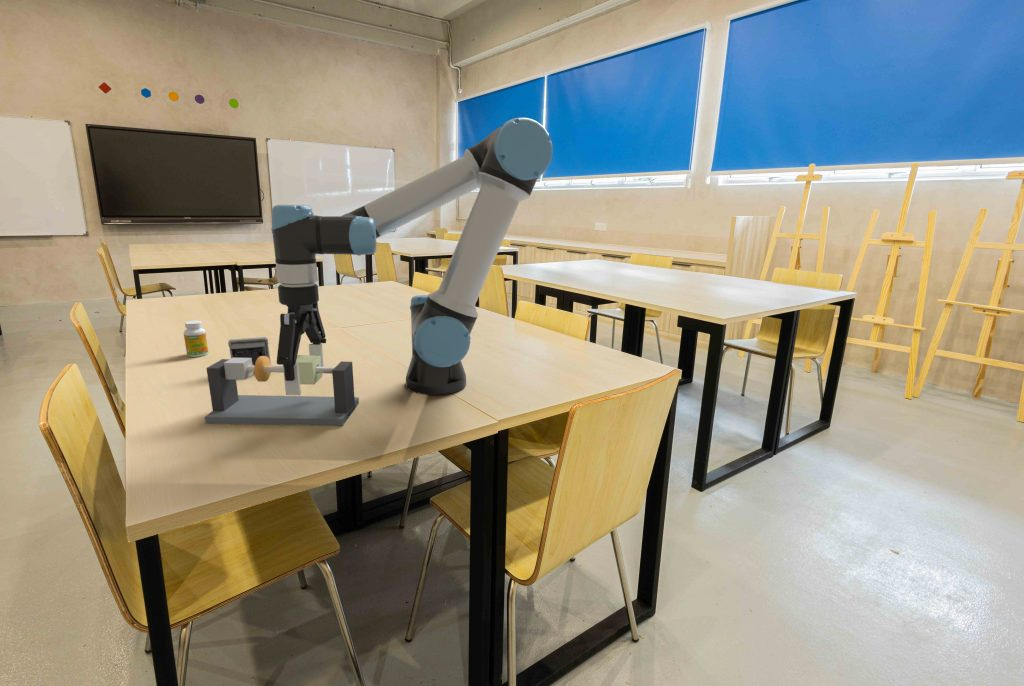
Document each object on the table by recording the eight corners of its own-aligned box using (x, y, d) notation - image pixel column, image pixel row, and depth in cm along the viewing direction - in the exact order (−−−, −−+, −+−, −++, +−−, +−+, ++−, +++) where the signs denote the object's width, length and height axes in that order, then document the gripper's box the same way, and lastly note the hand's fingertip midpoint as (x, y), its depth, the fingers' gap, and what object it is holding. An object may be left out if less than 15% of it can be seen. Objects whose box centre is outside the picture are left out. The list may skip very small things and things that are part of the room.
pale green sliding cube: (322, 376, 111) (320, 355, 109) (314, 384, 106) (312, 362, 105) (299, 376, 111) (297, 355, 109) (290, 384, 106) (288, 362, 105)
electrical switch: (271, 366, 140) (267, 334, 137) (271, 373, 136) (267, 341, 132) (233, 369, 137) (228, 337, 133) (231, 377, 132) (226, 344, 129)
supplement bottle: (189, 358, 144) (183, 325, 142) (185, 354, 148) (180, 321, 146) (210, 355, 148) (205, 322, 145) (206, 350, 152) (201, 319, 149)
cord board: (358, 403, 116) (355, 350, 113) (342, 425, 105) (338, 367, 101) (235, 401, 116) (228, 347, 112) (205, 423, 104) (196, 364, 101)
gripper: (302, 274, 115) (310, 363, 120) (249, 294, 91) (261, 404, 96) (336, 275, 115) (341, 364, 121) (291, 295, 91) (301, 405, 97)
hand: (306, 382), depth 109 cm, fingers open, 13 cm apart
